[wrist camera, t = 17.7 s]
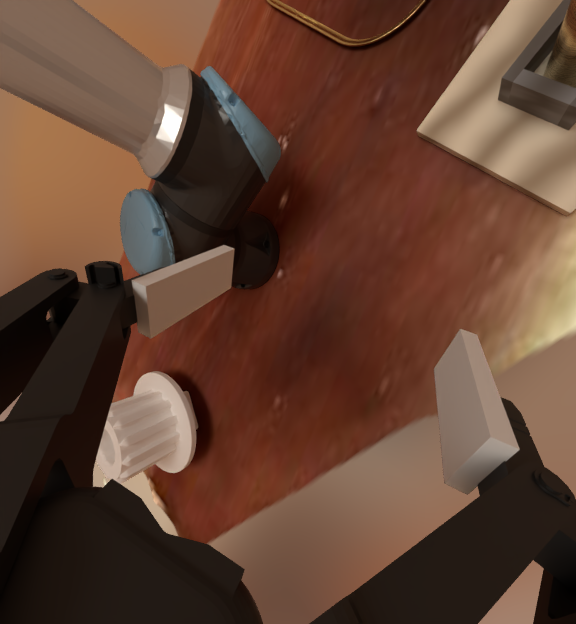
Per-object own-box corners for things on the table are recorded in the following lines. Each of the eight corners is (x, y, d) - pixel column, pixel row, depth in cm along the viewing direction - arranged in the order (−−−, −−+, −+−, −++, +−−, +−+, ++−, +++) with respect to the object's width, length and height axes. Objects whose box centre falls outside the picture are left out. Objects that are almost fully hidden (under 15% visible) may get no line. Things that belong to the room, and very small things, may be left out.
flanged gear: (148, 375, 81) (71, 398, 65) (197, 356, 67) (115, 378, 51) (170, 458, 78) (96, 503, 62) (226, 456, 64) (149, 512, 49)
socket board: (418, 135, 37) (411, 114, 32) (558, -58, 28) (577, -124, 24) (566, 216, 30) (584, 203, 25) (814, -9, 21) (910, -90, 17)
